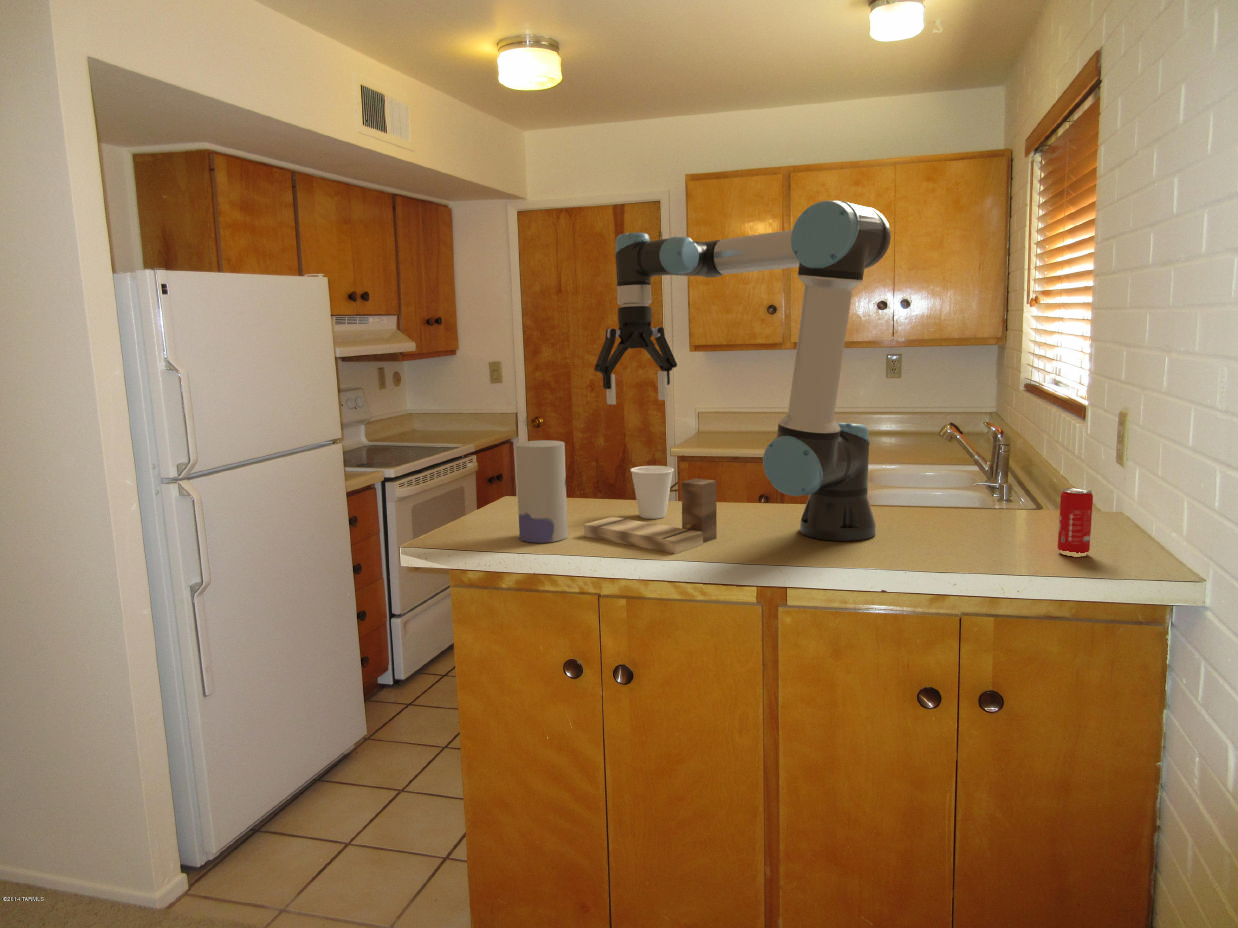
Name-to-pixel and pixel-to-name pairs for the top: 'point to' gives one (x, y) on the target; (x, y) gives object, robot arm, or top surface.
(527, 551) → the top surface
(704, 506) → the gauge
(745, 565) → the top surface
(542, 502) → the container
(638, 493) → the cup
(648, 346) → the robot arm
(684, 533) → the plank
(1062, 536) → the beverage can
